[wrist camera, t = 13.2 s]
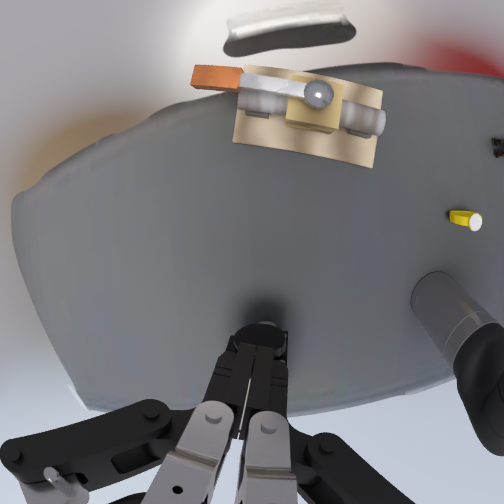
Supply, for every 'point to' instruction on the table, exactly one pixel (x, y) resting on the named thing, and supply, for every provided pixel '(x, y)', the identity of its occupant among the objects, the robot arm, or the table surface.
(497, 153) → the dinosaur model
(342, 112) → the valve rig
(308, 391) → the table surface
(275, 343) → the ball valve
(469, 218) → the watch
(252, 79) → the lever
